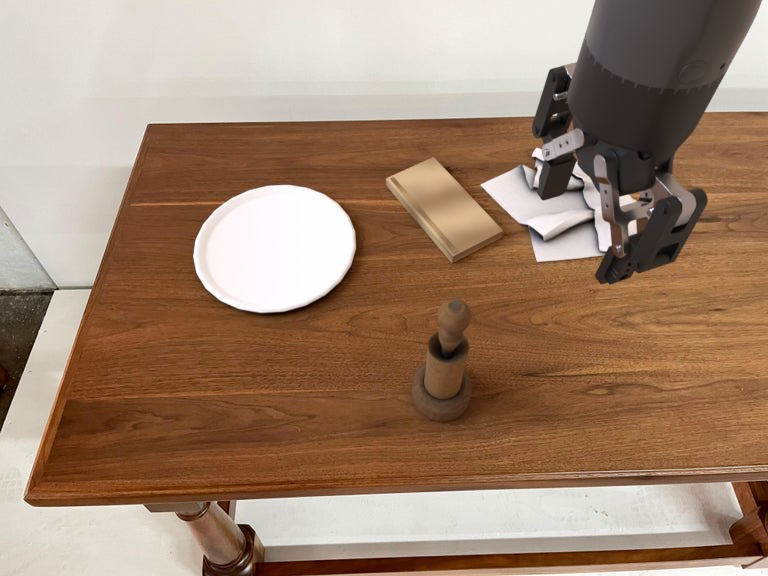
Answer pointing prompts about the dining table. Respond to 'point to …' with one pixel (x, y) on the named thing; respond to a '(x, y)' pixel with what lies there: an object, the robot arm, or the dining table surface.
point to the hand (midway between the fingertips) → (577, 234)
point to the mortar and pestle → (445, 367)
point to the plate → (274, 249)
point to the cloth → (556, 213)
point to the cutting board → (444, 209)
